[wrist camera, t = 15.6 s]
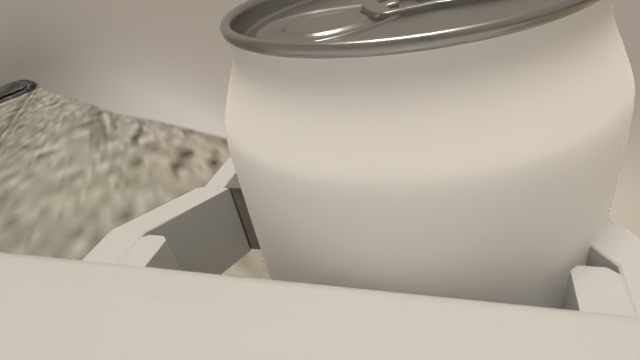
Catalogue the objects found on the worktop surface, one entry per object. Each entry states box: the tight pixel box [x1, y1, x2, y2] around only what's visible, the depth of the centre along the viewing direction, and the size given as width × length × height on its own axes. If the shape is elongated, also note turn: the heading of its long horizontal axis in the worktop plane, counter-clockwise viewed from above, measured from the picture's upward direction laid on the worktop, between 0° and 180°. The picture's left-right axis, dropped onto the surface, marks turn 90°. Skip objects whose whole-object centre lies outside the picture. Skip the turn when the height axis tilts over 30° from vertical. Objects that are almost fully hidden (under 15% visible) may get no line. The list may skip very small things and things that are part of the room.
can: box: [220, 0, 635, 309], centre depth 10 cm, size 6×6×12 cm
